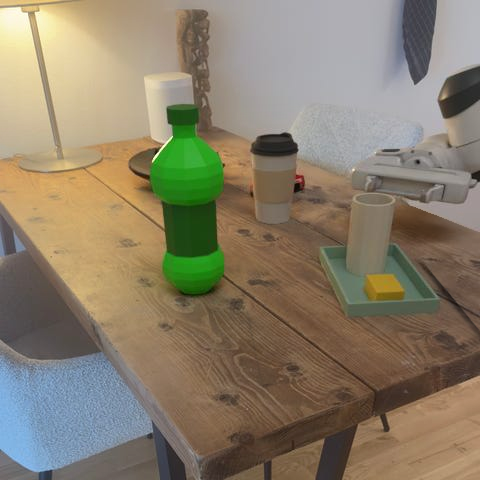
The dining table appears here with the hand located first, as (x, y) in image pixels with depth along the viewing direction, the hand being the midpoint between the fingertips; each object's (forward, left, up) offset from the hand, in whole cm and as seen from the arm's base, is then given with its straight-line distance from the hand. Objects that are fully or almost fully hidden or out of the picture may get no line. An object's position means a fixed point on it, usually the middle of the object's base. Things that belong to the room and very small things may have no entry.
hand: (395, 193), depth 93 cm
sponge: (+6, +19, -9) cm, 22 cm away
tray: (+6, +14, -10) cm, 18 cm away
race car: (+15, -36, -10) cm, 40 cm away
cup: (+6, +8, -9) cm, 14 cm away
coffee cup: (+18, -19, -10) cm, 28 cm away
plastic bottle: (+34, +11, -10) cm, 37 cm away
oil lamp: (+37, -45, -10) cm, 59 cm away
